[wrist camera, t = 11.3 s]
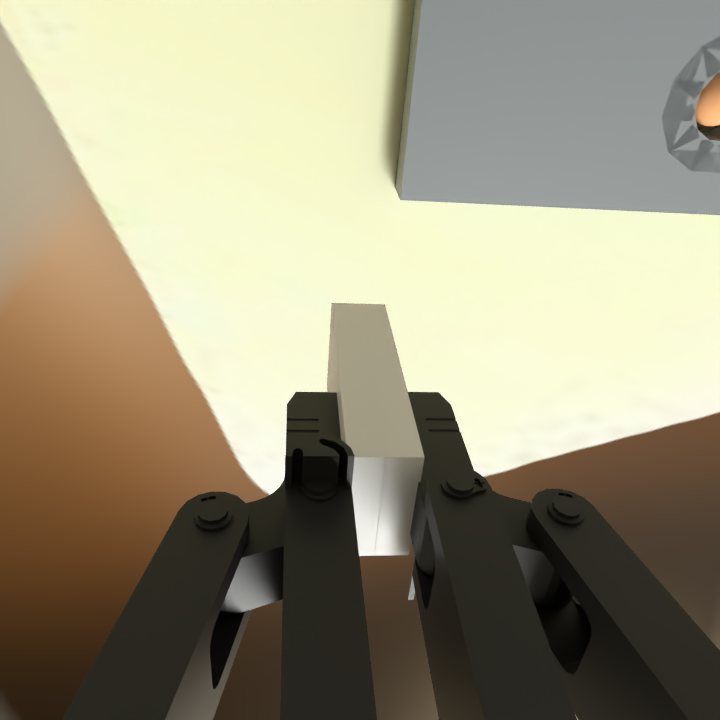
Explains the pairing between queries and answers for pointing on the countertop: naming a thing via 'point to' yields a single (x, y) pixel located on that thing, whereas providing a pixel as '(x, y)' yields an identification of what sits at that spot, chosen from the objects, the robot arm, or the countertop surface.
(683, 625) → the robot arm
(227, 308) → the countertop surface
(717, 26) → the plate
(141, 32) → the countertop surface
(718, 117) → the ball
